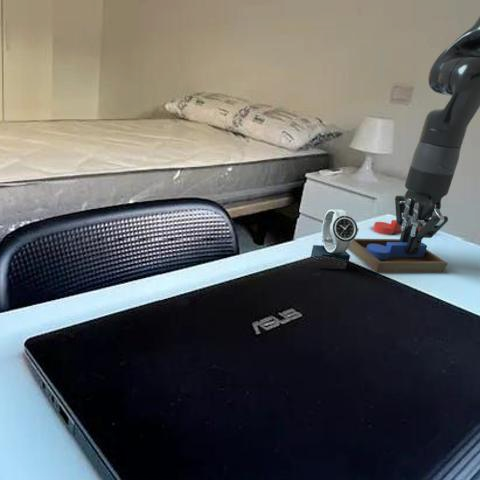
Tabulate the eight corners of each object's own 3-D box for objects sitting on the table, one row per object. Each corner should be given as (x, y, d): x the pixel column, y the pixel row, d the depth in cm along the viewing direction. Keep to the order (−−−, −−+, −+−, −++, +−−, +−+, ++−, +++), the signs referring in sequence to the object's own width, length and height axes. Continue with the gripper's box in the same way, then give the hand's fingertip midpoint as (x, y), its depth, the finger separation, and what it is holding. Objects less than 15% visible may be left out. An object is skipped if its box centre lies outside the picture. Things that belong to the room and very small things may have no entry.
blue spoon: (414, 251, 104) (418, 239, 102) (428, 260, 100) (432, 248, 99) (361, 250, 101) (364, 238, 100) (372, 260, 97) (376, 247, 96)
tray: (408, 248, 107) (411, 239, 107) (444, 272, 97) (447, 263, 96) (346, 247, 105) (348, 238, 104) (376, 273, 94) (379, 263, 94)
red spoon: (415, 228, 119) (418, 218, 118) (427, 235, 115) (430, 225, 114) (369, 227, 117) (372, 217, 116) (379, 235, 113) (382, 224, 112)
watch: (323, 274, 92) (336, 218, 88) (306, 255, 99) (318, 203, 95) (351, 275, 93) (366, 219, 88) (333, 256, 100) (345, 204, 96)
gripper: (476, 178, 88) (446, 266, 95) (426, 158, 101) (403, 237, 107) (439, 177, 87) (411, 266, 94) (393, 157, 99) (371, 237, 106)
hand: (407, 250), depth 101 cm, fingers closed on blue spoon
